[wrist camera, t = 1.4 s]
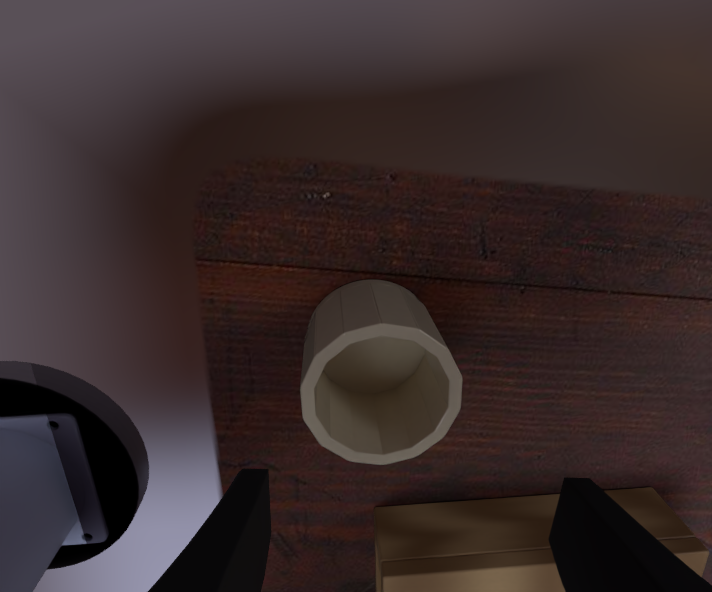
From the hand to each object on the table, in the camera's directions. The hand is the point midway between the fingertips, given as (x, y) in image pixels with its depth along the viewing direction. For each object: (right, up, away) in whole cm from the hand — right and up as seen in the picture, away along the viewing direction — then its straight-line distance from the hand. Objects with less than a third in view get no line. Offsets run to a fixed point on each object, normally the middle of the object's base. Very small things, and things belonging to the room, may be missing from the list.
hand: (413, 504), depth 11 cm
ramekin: (-1, +3, +8) cm, 9 cm away
